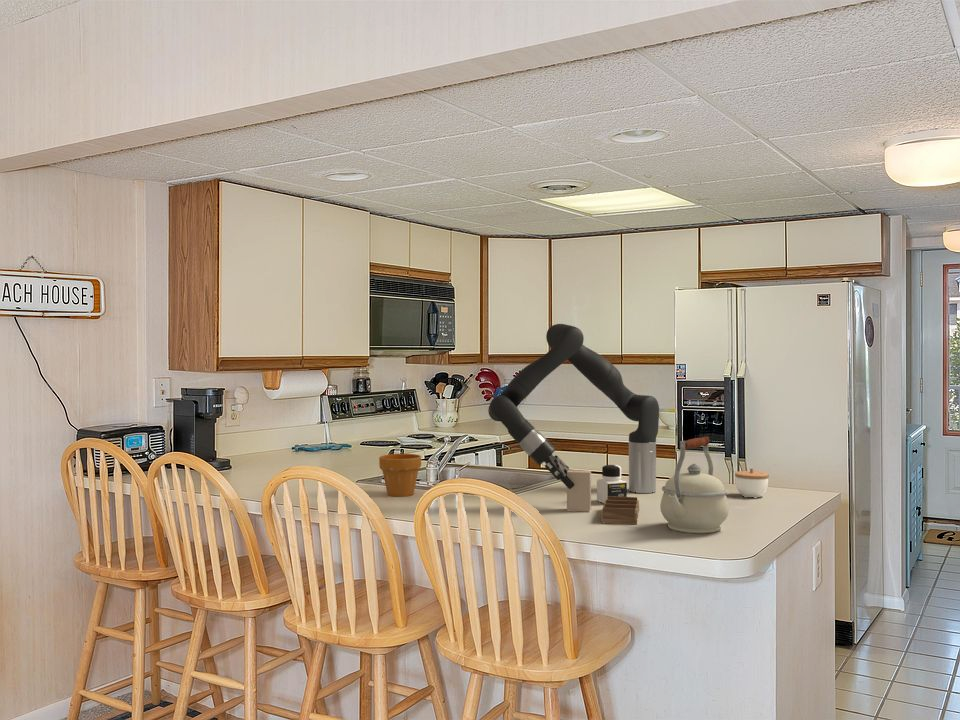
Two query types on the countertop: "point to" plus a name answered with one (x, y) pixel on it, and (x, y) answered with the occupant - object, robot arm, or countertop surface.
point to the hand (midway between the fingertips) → (574, 484)
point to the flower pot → (400, 473)
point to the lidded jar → (751, 483)
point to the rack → (620, 510)
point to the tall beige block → (579, 491)
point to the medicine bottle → (611, 483)
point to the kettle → (694, 495)
